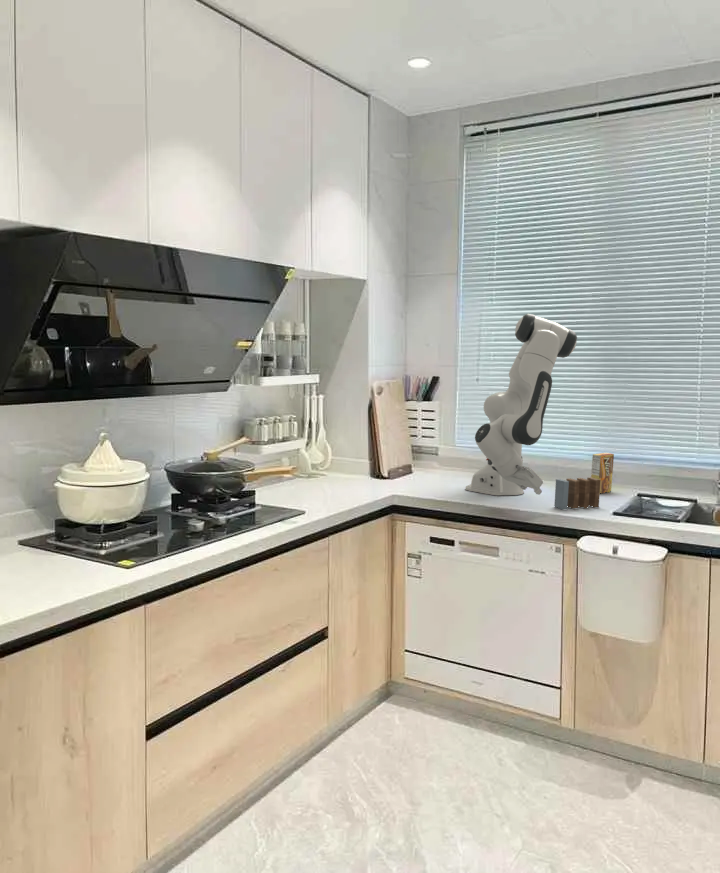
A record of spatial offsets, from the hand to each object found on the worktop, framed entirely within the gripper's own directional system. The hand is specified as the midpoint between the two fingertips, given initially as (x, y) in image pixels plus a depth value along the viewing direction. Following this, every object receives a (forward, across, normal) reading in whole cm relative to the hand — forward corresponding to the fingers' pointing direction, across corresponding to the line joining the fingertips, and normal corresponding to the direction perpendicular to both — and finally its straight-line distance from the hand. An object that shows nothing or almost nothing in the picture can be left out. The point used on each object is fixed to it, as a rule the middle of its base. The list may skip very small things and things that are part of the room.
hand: (532, 490), depth 272 cm
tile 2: (+17, 0, -7) cm, 18 cm away
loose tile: (+14, 0, -4) cm, 14 cm away
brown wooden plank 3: (+20, 0, -10) cm, 22 cm away
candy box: (+38, +22, -28) cm, 52 cm away
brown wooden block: (+23, 0, -13) cm, 27 cm away
